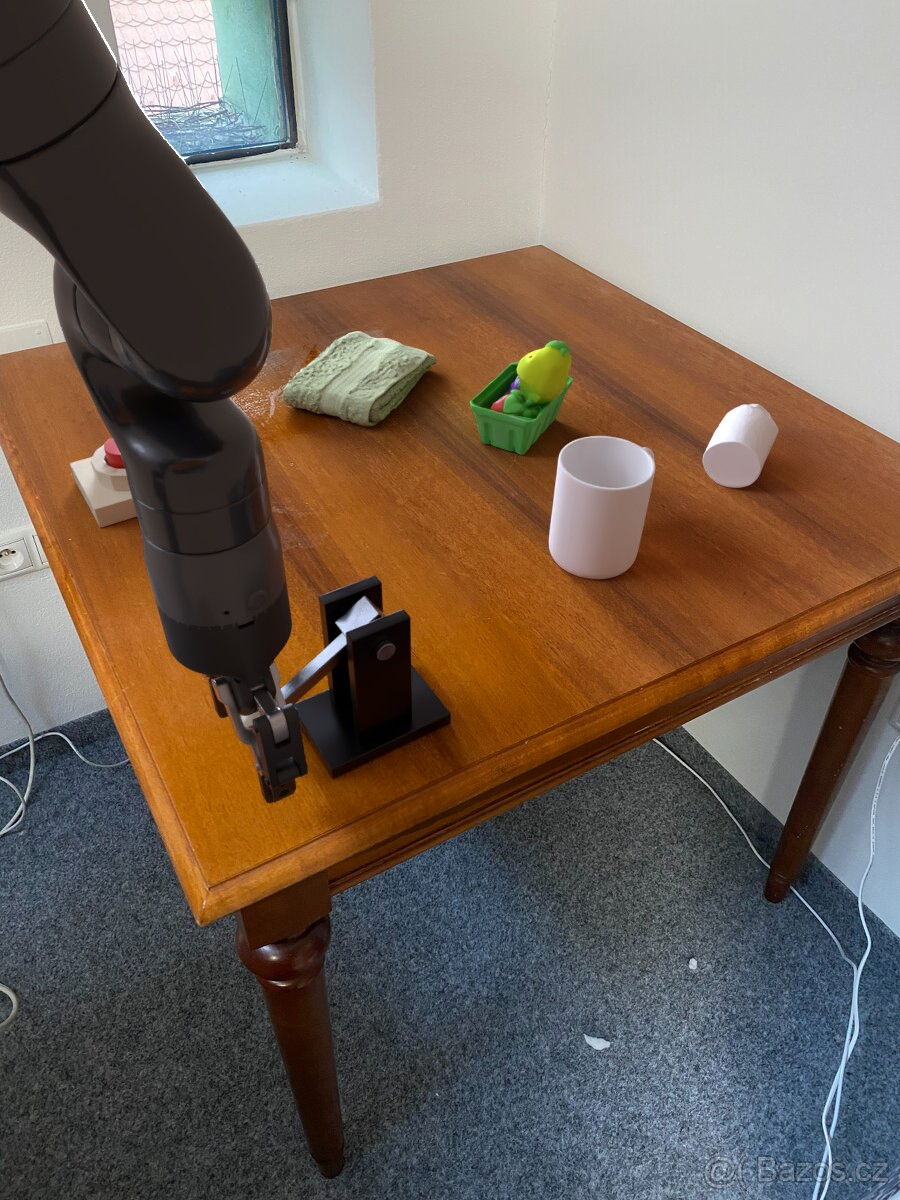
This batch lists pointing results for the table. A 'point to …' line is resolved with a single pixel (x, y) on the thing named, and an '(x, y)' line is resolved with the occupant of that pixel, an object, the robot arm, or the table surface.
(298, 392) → the washcloth
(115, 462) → the button
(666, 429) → the table surface
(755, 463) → the white bottle
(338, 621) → the lever
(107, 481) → the button box
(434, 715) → the bracket
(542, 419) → the fruit basket
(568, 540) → the cup
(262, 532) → the robot arm
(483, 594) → the table surface
